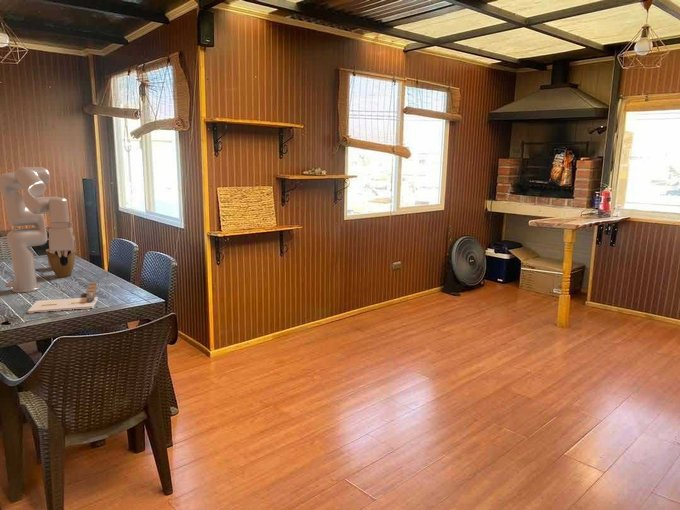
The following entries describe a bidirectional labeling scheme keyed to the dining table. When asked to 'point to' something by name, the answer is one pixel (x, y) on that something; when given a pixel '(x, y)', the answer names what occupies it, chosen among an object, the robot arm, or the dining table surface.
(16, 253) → the robot arm
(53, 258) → the plant pot
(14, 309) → the dining table surface
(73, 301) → the label plate
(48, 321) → the dining table surface
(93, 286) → the bar
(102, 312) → the dining table surface
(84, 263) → the dining table surface
